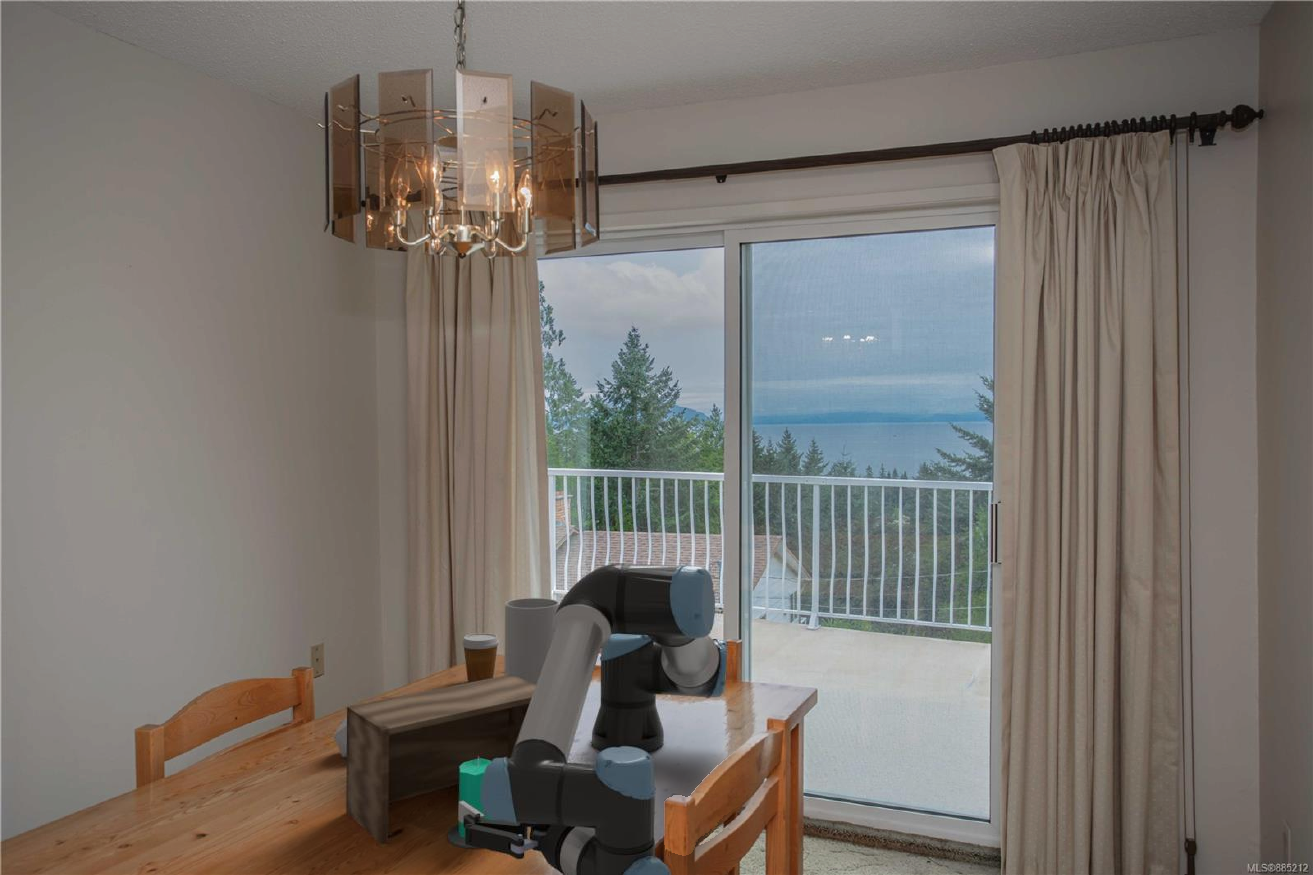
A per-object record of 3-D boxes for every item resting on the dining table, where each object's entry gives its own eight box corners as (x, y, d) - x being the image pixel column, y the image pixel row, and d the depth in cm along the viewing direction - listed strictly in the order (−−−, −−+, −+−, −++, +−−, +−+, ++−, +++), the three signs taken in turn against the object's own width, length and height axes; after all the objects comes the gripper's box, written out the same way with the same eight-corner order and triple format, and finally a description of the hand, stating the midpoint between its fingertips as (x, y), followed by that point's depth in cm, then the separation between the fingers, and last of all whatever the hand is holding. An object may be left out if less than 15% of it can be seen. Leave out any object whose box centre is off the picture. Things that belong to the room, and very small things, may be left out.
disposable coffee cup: (455, 687, 222) (456, 640, 222) (469, 677, 231) (470, 632, 231) (491, 689, 220) (491, 642, 220) (504, 679, 229) (504, 633, 229)
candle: (461, 823, 143) (462, 750, 143) (498, 822, 143) (499, 749, 143) (455, 840, 137) (456, 764, 137) (494, 839, 137) (495, 763, 137)
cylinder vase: (568, 707, 206) (569, 601, 206) (534, 721, 196) (535, 610, 195) (528, 698, 213) (529, 596, 213) (493, 712, 202) (493, 604, 202)
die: (353, 769, 168) (384, 725, 171) (318, 744, 170) (349, 701, 173) (365, 769, 176) (395, 727, 179) (332, 745, 178) (362, 704, 181)
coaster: (511, 824, 144) (511, 820, 144) (496, 849, 135) (496, 846, 135) (458, 821, 145) (458, 818, 145) (440, 847, 136) (440, 843, 136)
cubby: (346, 812, 148) (346, 706, 148) (510, 767, 169) (511, 674, 169) (381, 844, 136) (382, 729, 136) (553, 792, 157) (554, 692, 157)
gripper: (499, 908, 110) (424, 846, 126) (651, 849, 126) (568, 801, 142) (499, 848, 110) (425, 795, 126) (651, 797, 126) (568, 755, 142)
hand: (500, 798), depth 134 cm, fingers open, 13 cm apart
